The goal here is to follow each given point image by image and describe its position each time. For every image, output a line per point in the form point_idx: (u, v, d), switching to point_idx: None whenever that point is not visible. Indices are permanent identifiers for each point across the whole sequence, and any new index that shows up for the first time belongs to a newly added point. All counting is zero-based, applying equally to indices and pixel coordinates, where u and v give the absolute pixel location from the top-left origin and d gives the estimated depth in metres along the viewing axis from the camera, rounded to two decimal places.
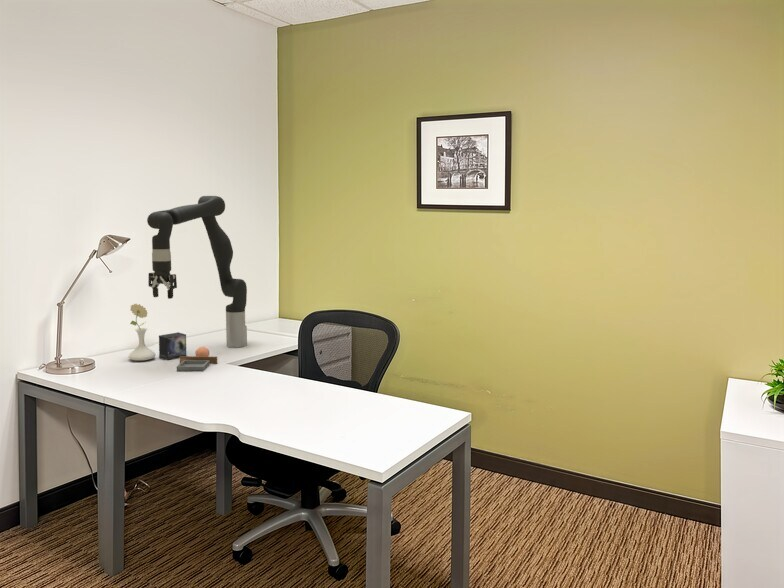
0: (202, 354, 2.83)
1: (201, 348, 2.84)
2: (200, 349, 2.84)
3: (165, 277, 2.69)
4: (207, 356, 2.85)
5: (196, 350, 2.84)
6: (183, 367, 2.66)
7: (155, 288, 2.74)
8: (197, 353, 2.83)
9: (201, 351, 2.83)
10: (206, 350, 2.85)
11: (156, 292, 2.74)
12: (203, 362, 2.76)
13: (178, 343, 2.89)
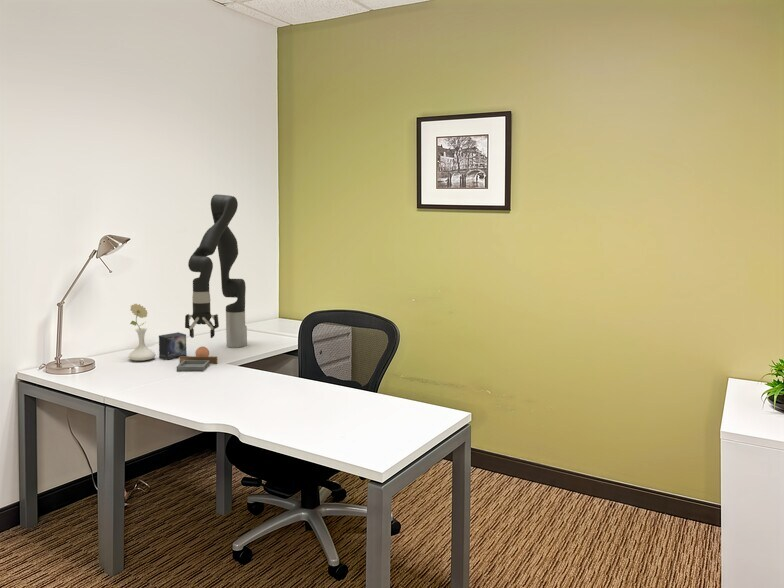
0: (202, 354, 2.83)
1: (201, 348, 2.84)
2: (200, 349, 2.84)
3: None
4: (207, 356, 2.85)
5: (196, 350, 2.84)
6: (183, 367, 2.66)
7: None
8: (197, 353, 2.83)
9: (201, 351, 2.83)
10: (206, 350, 2.85)
11: None
12: (203, 362, 2.76)
13: (178, 343, 2.89)
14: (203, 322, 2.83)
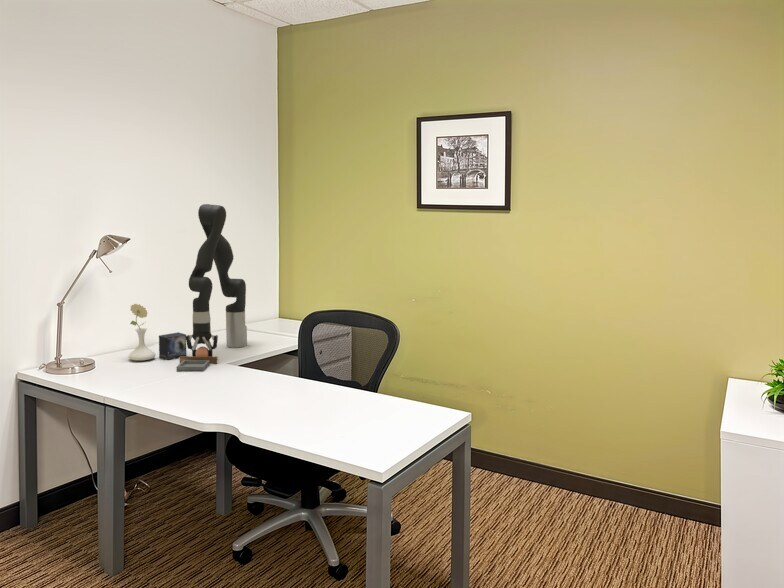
0: (202, 354, 2.83)
1: (201, 348, 2.84)
2: (200, 349, 2.84)
3: None
4: (207, 356, 2.85)
5: (196, 350, 2.84)
6: (183, 367, 2.66)
7: None
8: (197, 353, 2.83)
9: (201, 351, 2.83)
10: (206, 350, 2.85)
11: None
12: (203, 362, 2.76)
13: (178, 343, 2.89)
14: (202, 341, 2.84)
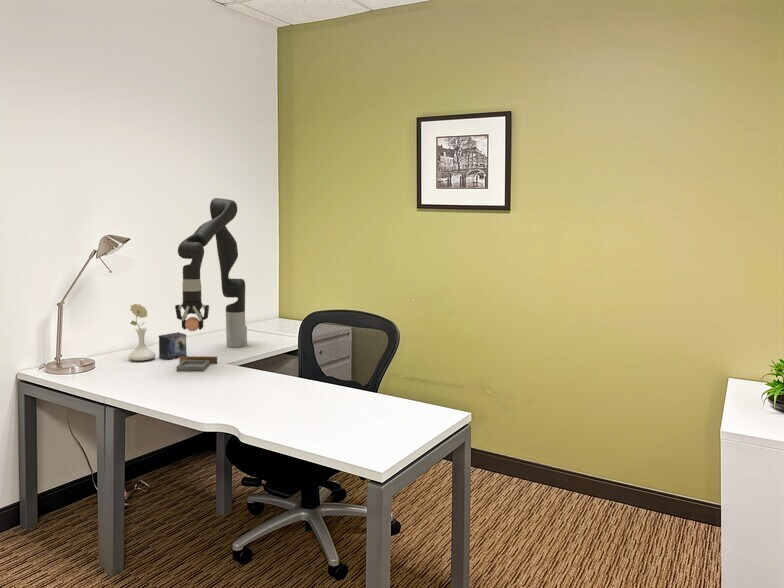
0: (192, 324, 2.67)
1: (191, 318, 2.68)
2: (190, 319, 2.68)
3: None
4: (197, 327, 2.69)
5: (186, 320, 2.68)
6: (183, 367, 2.66)
7: None
8: (187, 323, 2.67)
9: (192, 321, 2.67)
10: (196, 320, 2.69)
11: None
12: (203, 362, 2.76)
13: (178, 343, 2.89)
14: (193, 311, 2.68)
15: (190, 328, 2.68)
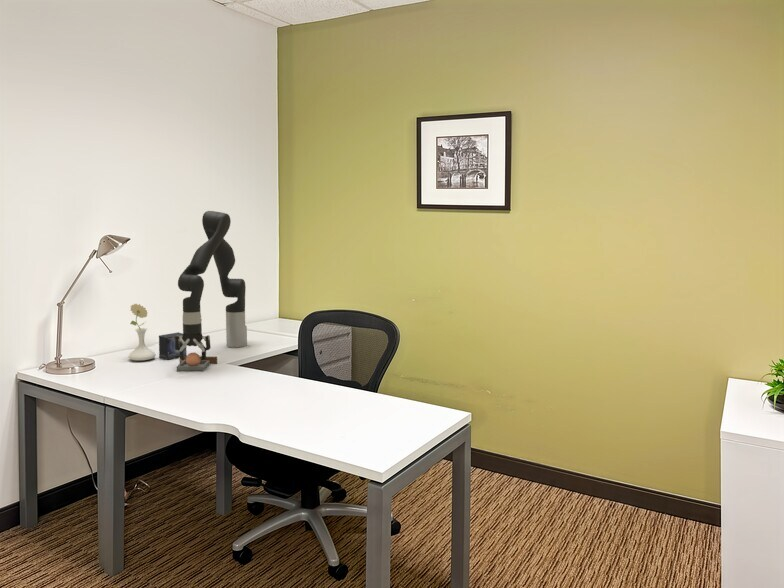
0: (193, 361, 2.68)
1: (192, 354, 2.69)
2: (191, 355, 2.69)
3: None
4: (198, 363, 2.70)
5: (186, 357, 2.69)
6: (183, 367, 2.66)
7: None
8: (187, 360, 2.68)
9: (192, 357, 2.68)
10: (197, 356, 2.70)
11: None
12: (203, 362, 2.76)
13: None
14: (194, 344, 2.69)
15: (191, 364, 2.69)
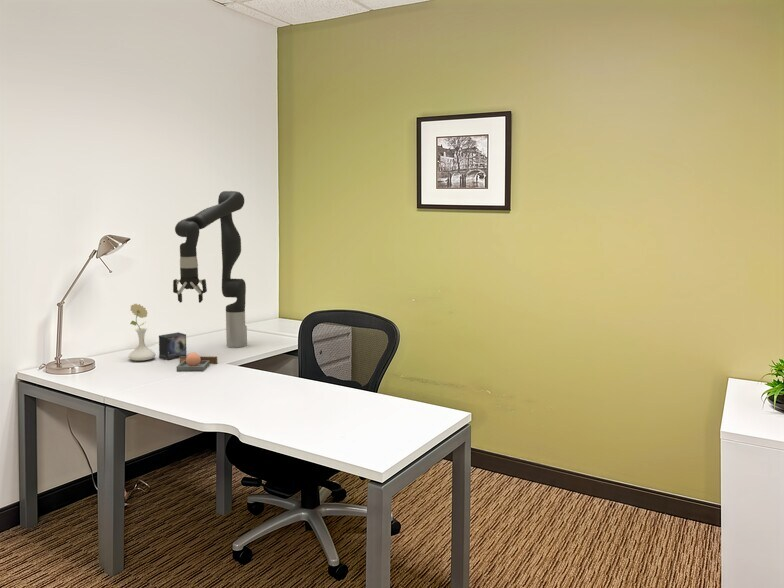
0: (193, 361, 2.68)
1: (192, 354, 2.69)
2: (191, 356, 2.69)
3: None
4: (198, 363, 2.70)
5: (186, 357, 2.69)
6: (183, 367, 2.66)
7: None
8: (187, 360, 2.68)
9: (192, 357, 2.68)
10: (197, 357, 2.70)
11: None
12: (203, 362, 2.76)
13: (178, 343, 2.89)
14: (191, 287, 2.85)
15: (191, 364, 2.69)
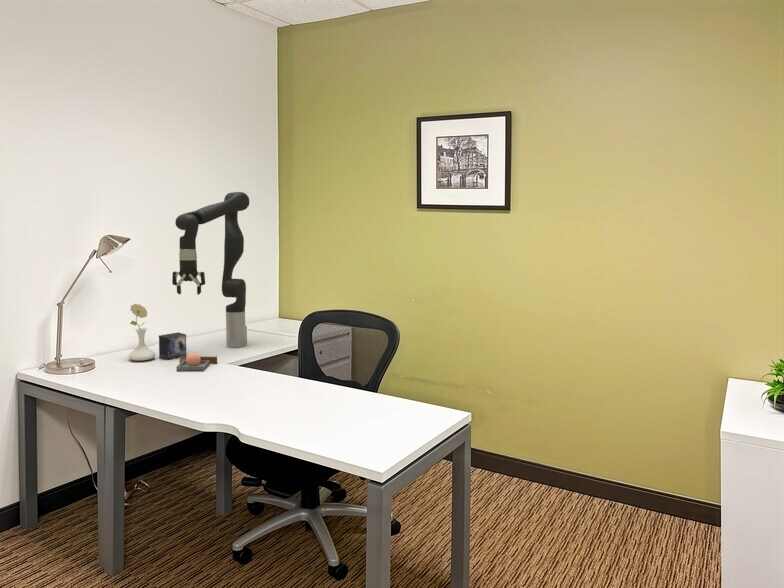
0: (193, 361, 2.68)
1: (192, 354, 2.69)
2: (191, 356, 2.69)
3: None
4: (198, 363, 2.70)
5: (186, 357, 2.69)
6: (183, 367, 2.66)
7: None
8: (187, 360, 2.68)
9: (192, 357, 2.68)
10: (197, 357, 2.70)
11: None
12: (203, 362, 2.76)
13: (178, 343, 2.89)
14: (190, 279, 2.90)
15: (191, 364, 2.69)
